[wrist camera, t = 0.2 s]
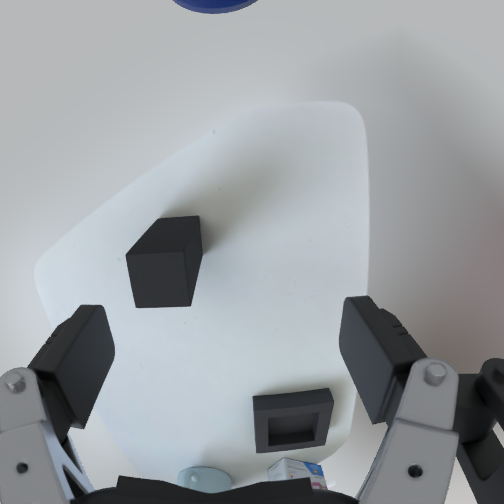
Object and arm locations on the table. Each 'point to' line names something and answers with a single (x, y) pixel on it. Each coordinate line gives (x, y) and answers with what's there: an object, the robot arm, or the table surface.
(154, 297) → the block
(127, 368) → the table surface
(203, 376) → the table surface
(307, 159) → the table surface
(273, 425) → the base pad
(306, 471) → the ink box
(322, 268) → the table surface
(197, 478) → the mug
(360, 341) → the robot arm
